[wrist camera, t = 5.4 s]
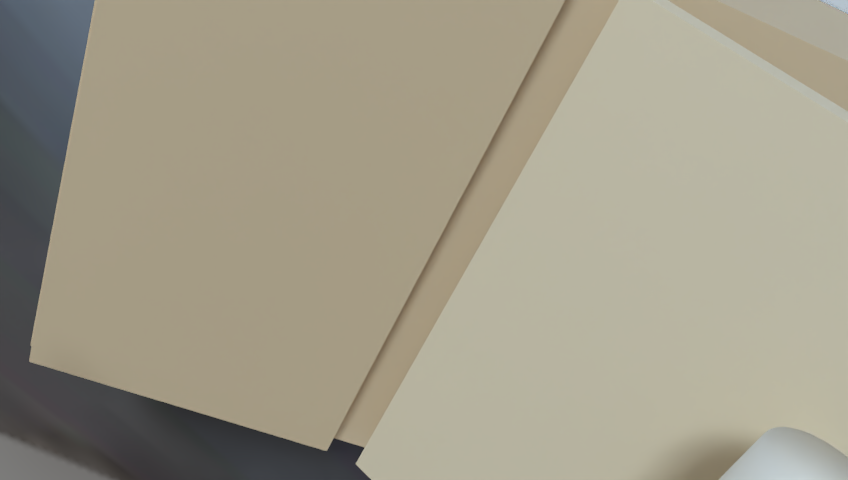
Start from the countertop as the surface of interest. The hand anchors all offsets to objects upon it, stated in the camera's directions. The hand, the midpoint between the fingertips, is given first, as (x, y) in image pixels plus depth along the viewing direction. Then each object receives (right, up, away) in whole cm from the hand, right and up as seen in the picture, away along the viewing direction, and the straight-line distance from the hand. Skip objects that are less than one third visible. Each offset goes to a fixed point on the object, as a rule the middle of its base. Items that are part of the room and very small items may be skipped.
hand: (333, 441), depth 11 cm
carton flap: (+5, 0, +4) cm, 6 cm away
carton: (+2, +5, +9) cm, 11 cm away
